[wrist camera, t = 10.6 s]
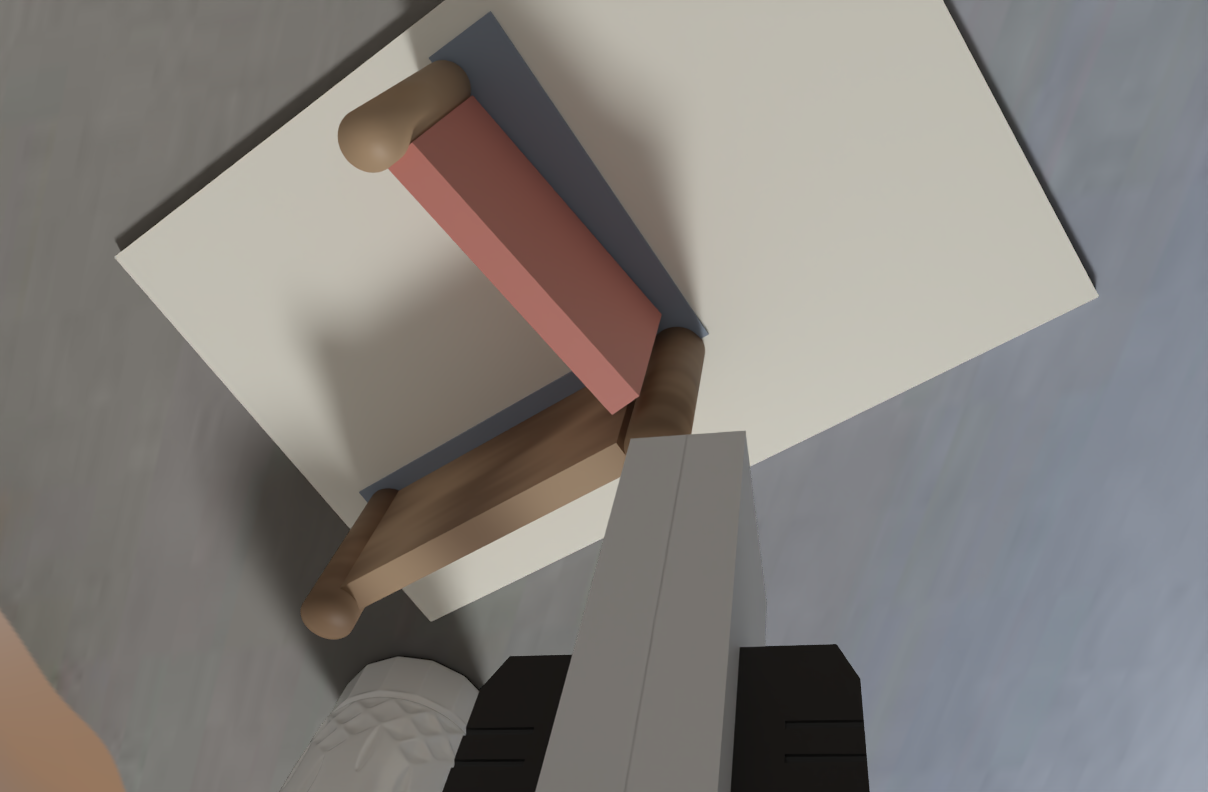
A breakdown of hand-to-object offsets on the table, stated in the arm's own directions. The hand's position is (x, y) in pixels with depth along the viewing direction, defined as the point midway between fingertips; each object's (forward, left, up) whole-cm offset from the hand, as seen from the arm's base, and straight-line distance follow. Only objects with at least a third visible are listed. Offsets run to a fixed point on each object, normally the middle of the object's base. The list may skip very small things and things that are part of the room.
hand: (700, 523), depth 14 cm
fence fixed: (+12, +4, -20) cm, 24 cm away
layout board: (+7, 0, -20) cm, 22 cm away
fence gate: (+6, -2, -20) cm, 21 cm away
